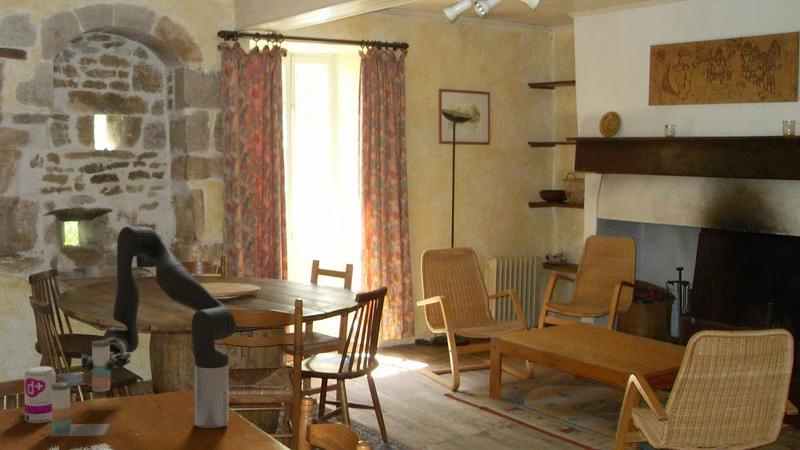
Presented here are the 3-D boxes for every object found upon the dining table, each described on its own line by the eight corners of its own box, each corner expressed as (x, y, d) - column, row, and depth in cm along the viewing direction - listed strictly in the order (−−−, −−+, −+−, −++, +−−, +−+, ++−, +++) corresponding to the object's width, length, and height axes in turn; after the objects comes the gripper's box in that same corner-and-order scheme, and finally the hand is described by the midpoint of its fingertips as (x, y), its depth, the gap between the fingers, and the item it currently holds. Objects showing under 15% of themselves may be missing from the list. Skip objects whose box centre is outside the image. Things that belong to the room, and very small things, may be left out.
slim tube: (111, 386, 257) (111, 340, 255) (108, 391, 252) (108, 344, 251) (94, 386, 256) (93, 340, 255) (90, 391, 251) (90, 344, 250)
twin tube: (72, 429, 251) (72, 382, 250) (68, 435, 246) (68, 386, 245) (54, 429, 250) (53, 382, 249) (50, 435, 245) (49, 387, 244)
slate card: (109, 425, 257) (109, 423, 257) (103, 437, 247) (103, 435, 247) (57, 426, 255) (57, 424, 255) (49, 438, 245) (49, 436, 245)
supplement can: (45, 426, 255) (44, 373, 254) (18, 423, 257) (18, 371, 255) (61, 417, 263) (61, 366, 261) (35, 415, 265) (35, 364, 263)
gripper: (85, 339, 266) (71, 353, 249) (135, 339, 268) (125, 353, 251) (85, 365, 267) (72, 380, 250) (136, 364, 269) (126, 380, 252)
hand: (99, 366), depth 251 cm, fingers closed on slim tube, 4 cm apart
